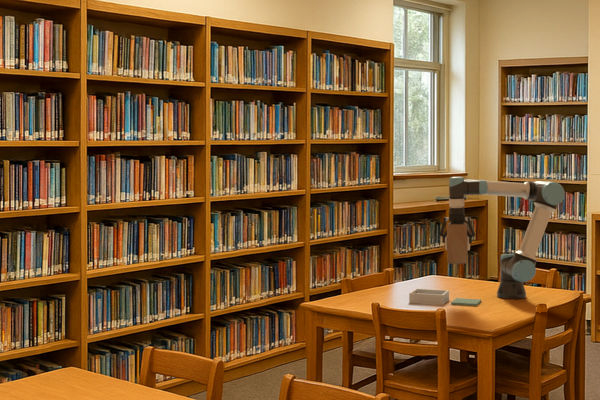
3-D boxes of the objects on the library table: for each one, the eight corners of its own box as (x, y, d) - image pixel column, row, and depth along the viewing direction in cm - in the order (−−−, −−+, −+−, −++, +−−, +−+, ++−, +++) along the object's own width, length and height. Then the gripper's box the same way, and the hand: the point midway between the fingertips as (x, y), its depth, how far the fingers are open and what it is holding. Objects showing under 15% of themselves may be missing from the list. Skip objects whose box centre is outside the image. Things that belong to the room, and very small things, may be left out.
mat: (481, 301, 429) (481, 299, 429) (476, 306, 417) (476, 303, 417) (456, 300, 434) (456, 298, 434) (451, 304, 422) (451, 302, 422)
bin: (449, 299, 436) (449, 290, 435) (443, 304, 422) (443, 295, 422) (416, 297, 442) (416, 288, 442) (409, 302, 429) (409, 293, 428)
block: (467, 263, 420) (466, 224, 419) (447, 263, 423) (446, 224, 421) (467, 261, 430) (467, 222, 429) (448, 261, 432) (447, 222, 431)
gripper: (481, 206, 423) (481, 249, 425) (436, 206, 433) (437, 248, 434) (478, 207, 417) (478, 251, 418) (432, 207, 426) (433, 250, 427)
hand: (457, 249), depth 426 cm, fingers closed on block, 11 cm apart
